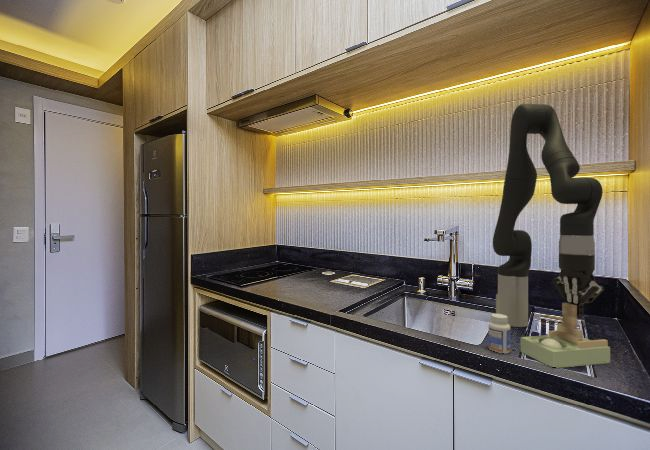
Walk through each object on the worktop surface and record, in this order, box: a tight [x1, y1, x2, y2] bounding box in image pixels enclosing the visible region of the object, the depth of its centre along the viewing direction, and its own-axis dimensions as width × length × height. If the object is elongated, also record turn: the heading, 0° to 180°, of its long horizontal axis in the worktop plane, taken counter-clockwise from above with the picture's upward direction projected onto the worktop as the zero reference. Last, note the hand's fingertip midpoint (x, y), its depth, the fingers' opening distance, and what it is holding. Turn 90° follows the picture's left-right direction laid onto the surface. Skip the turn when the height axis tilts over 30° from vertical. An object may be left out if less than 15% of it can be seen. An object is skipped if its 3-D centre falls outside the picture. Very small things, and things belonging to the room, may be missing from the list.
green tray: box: [520, 329, 611, 369], centre depth 82 cm, size 10×17×6 cm, turn 100°
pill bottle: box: [488, 313, 512, 354], centre depth 86 cm, size 5×5×10 cm
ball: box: [541, 339, 562, 348], centre depth 81 cm, size 5×5×5 cm
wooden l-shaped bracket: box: [556, 302, 584, 344], centre depth 82 cm, size 6×1×10 cm, turn 10°
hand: (576, 316), depth 83 cm, fingers closed
